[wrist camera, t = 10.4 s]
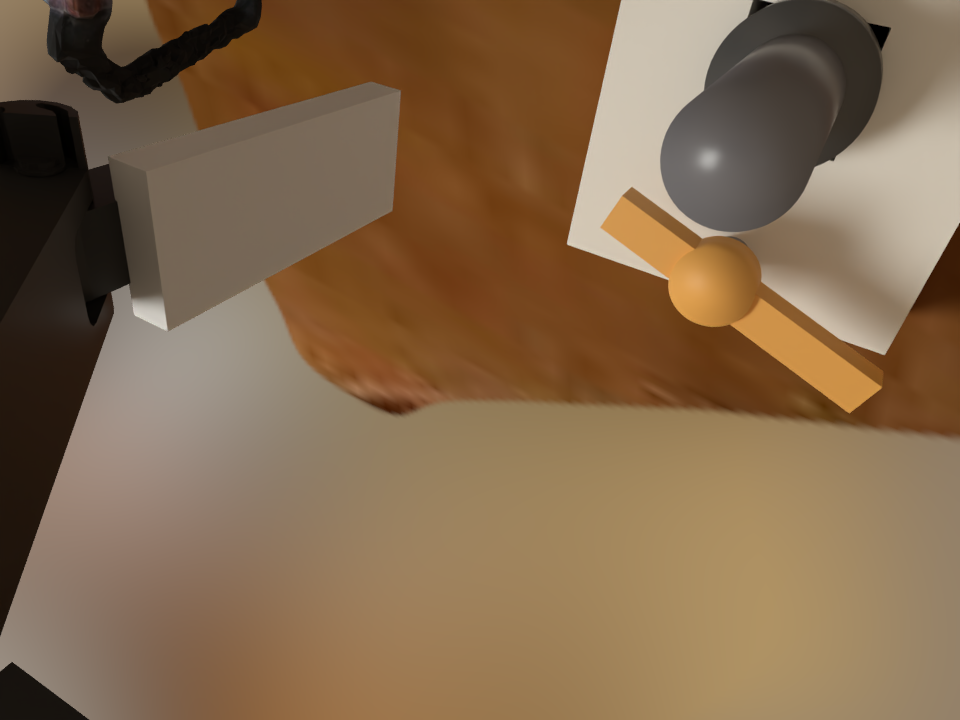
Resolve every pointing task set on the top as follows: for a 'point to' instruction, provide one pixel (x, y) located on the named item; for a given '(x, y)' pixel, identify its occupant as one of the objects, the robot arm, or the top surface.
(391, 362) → the top surface
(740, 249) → the orange bar with knob
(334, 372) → the top surface
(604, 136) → the socket board
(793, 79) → the plug
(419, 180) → the top surface
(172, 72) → the moka pot
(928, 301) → the top surface
